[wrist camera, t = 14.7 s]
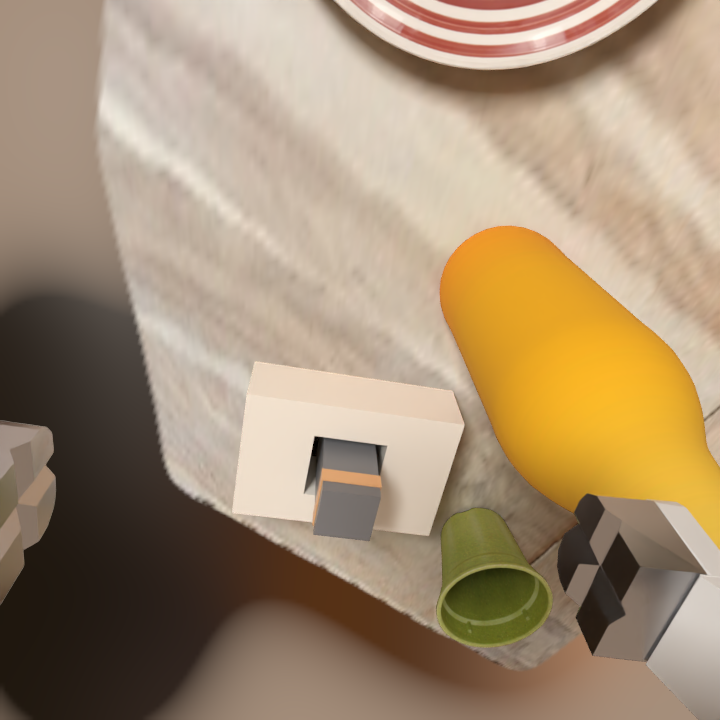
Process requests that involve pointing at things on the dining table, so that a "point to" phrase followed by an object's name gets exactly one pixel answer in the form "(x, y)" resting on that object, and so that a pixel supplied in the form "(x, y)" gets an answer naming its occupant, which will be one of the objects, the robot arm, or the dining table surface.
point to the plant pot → (488, 583)
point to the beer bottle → (576, 379)
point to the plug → (346, 489)
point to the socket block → (346, 422)
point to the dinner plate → (493, 28)
